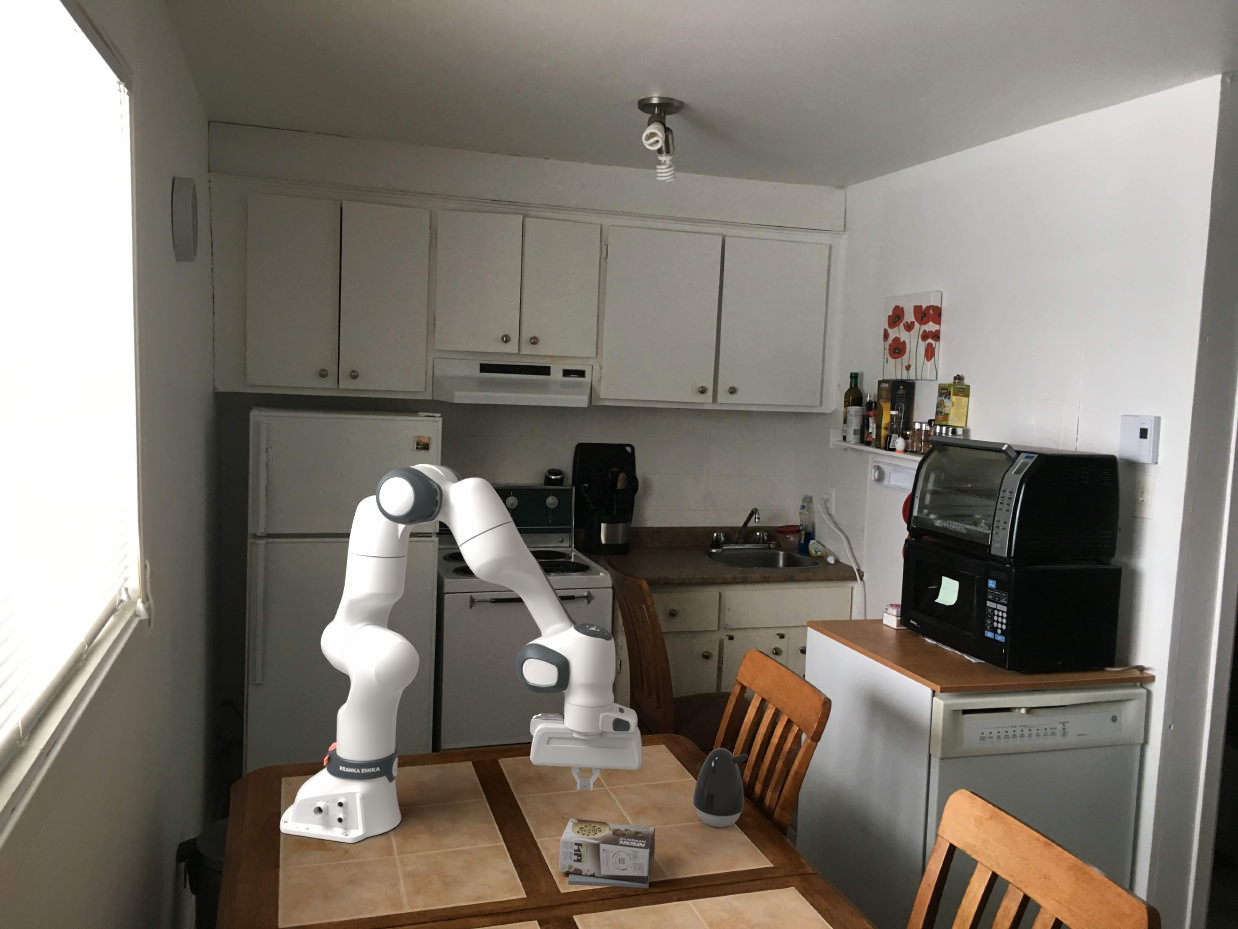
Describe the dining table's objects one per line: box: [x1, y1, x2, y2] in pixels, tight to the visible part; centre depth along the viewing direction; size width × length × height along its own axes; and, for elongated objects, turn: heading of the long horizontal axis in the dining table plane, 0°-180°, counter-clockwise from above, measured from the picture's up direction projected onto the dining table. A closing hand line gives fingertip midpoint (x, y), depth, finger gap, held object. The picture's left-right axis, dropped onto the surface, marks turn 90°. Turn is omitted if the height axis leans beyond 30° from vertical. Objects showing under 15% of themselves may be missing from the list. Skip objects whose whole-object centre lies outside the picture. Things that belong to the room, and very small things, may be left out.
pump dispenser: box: [692, 747, 749, 828], centre depth 193 cm, size 10×10×15 cm
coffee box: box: [558, 818, 656, 884], centre depth 172 cm, size 9×6×16 cm
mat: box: [567, 873, 650, 889], centre depth 174 cm, size 14×14×1 cm
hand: (584, 789), depth 173 cm, fingers closed
